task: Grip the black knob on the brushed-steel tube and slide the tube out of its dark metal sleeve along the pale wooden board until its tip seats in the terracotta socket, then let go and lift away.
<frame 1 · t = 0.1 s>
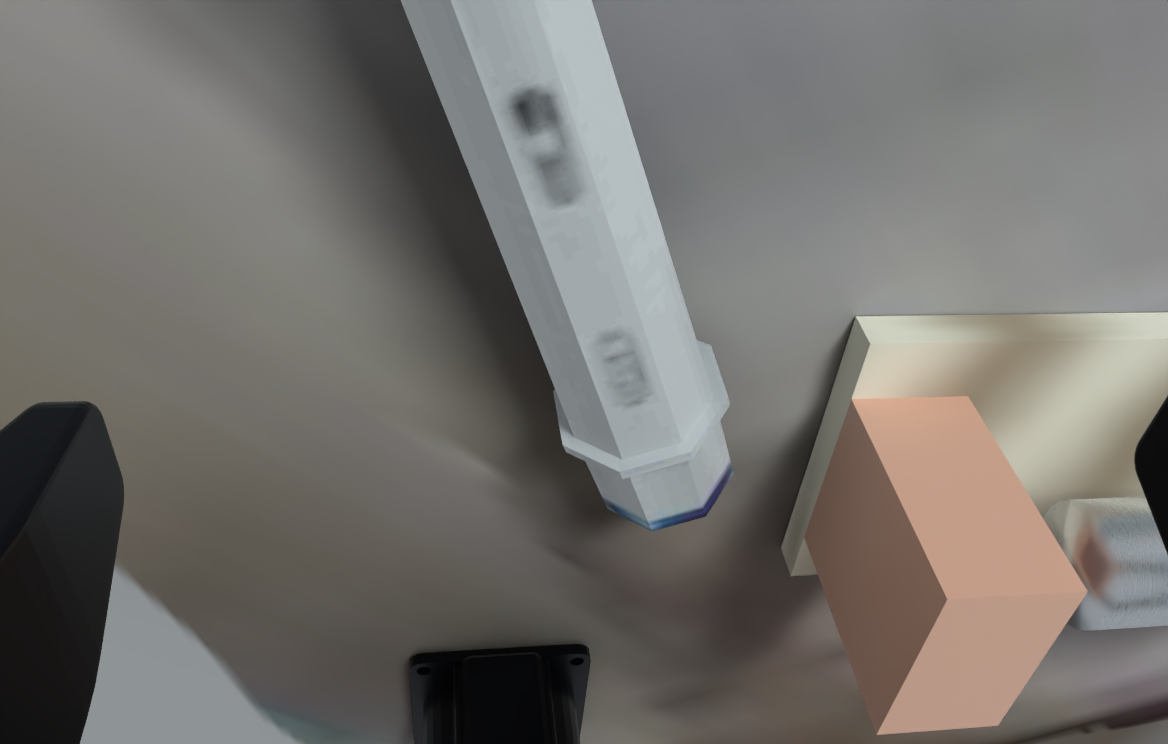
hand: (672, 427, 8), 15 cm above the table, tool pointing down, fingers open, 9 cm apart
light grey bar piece: (525, 39, 21), on the table
socket: (923, 560, 27), on the base board, point 5 cm above the table
base board: (1123, 434, 32), on the table
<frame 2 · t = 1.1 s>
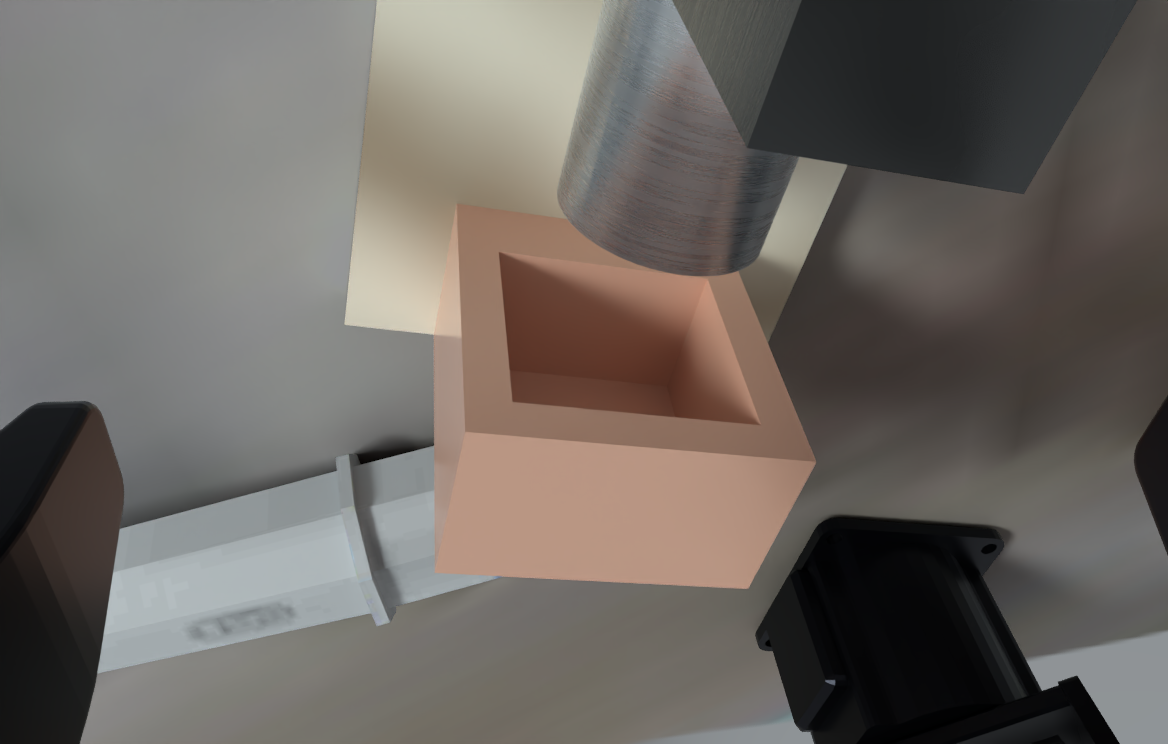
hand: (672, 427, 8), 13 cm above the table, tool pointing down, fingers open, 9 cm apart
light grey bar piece: (51, 518, 27), on the table
socket: (596, 388, 20), on the base board, point 5 cm above the table
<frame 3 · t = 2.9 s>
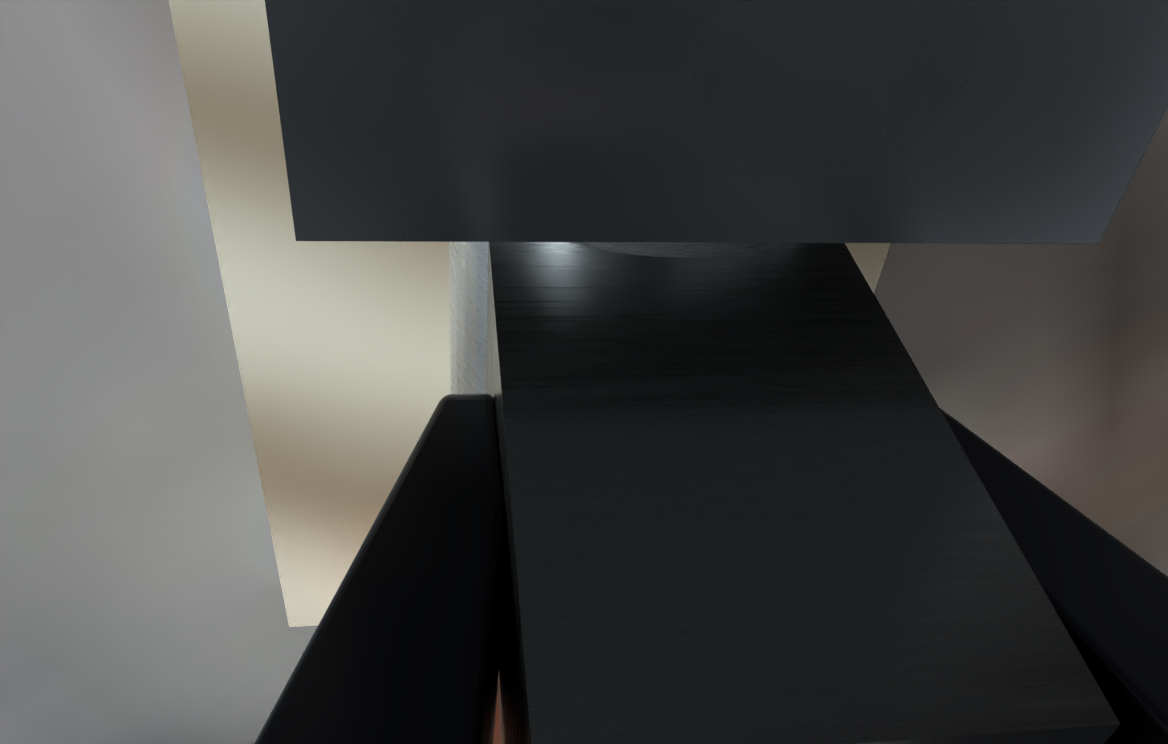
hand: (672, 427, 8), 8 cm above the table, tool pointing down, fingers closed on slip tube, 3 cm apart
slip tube: (706, 152, 7), point 7 cm above the table, slide at 0.0 cm, touching gripper
base board: (567, 120, 14), on the table
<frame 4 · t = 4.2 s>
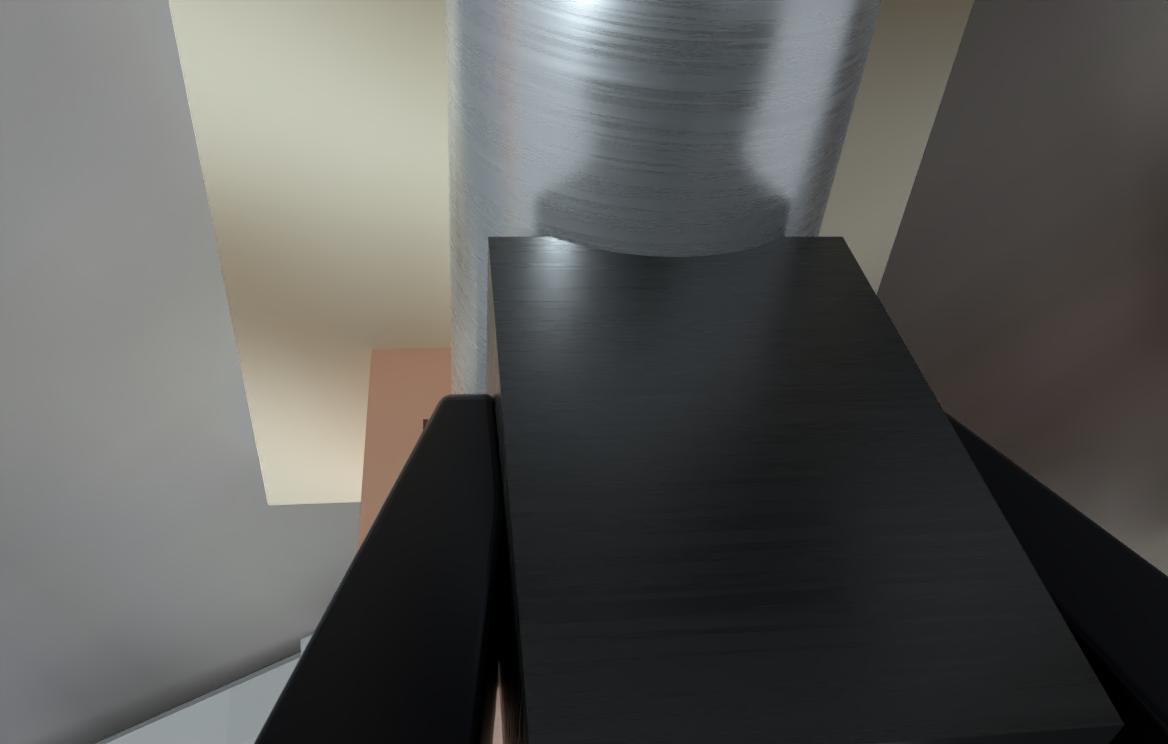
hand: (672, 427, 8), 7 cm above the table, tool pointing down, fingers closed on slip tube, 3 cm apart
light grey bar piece: (28, 728, 24), on the table
socket: (579, 587, 14), on the base board, point 5 cm above the table
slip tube: (706, 151, 7), point 7 cm above the table, slide at 3.7 cm, touching gripper
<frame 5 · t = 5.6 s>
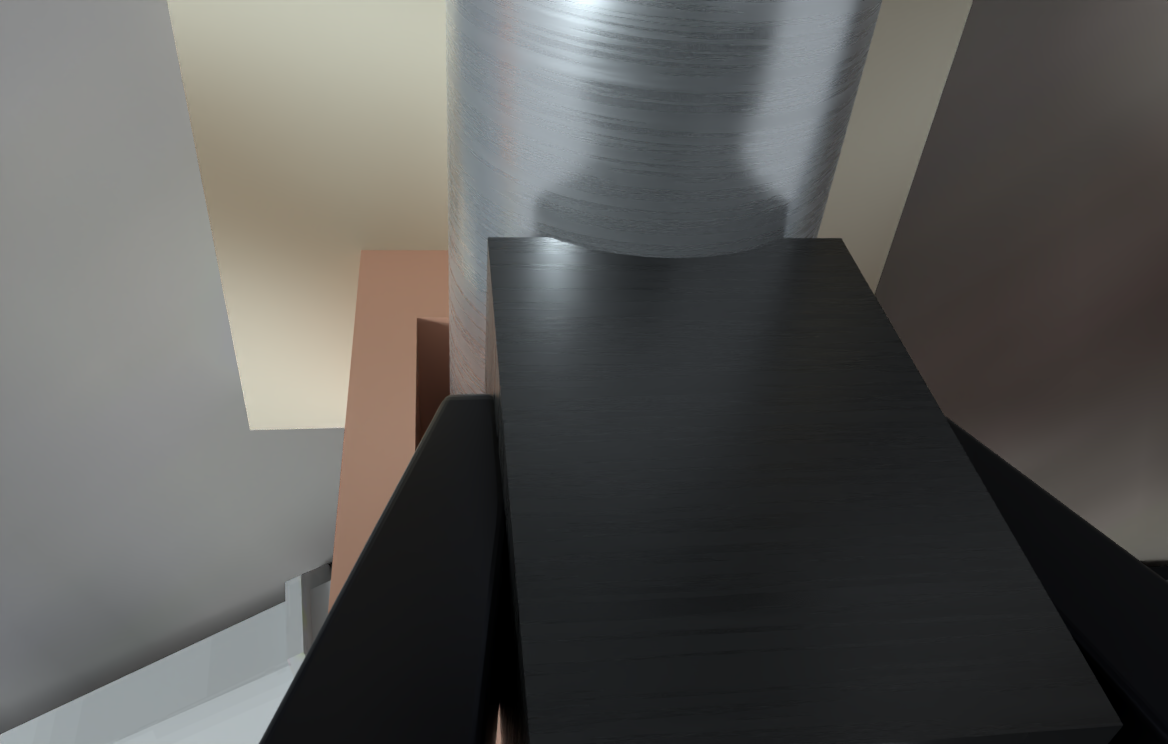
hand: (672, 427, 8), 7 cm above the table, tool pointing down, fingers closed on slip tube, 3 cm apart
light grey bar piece: (7, 689, 23), on the table
socket: (587, 503, 13), on the base board, point 5 cm above the table
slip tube: (705, 152, 7), point 7 cm above the table, slide at 5.6 cm, touching gripper
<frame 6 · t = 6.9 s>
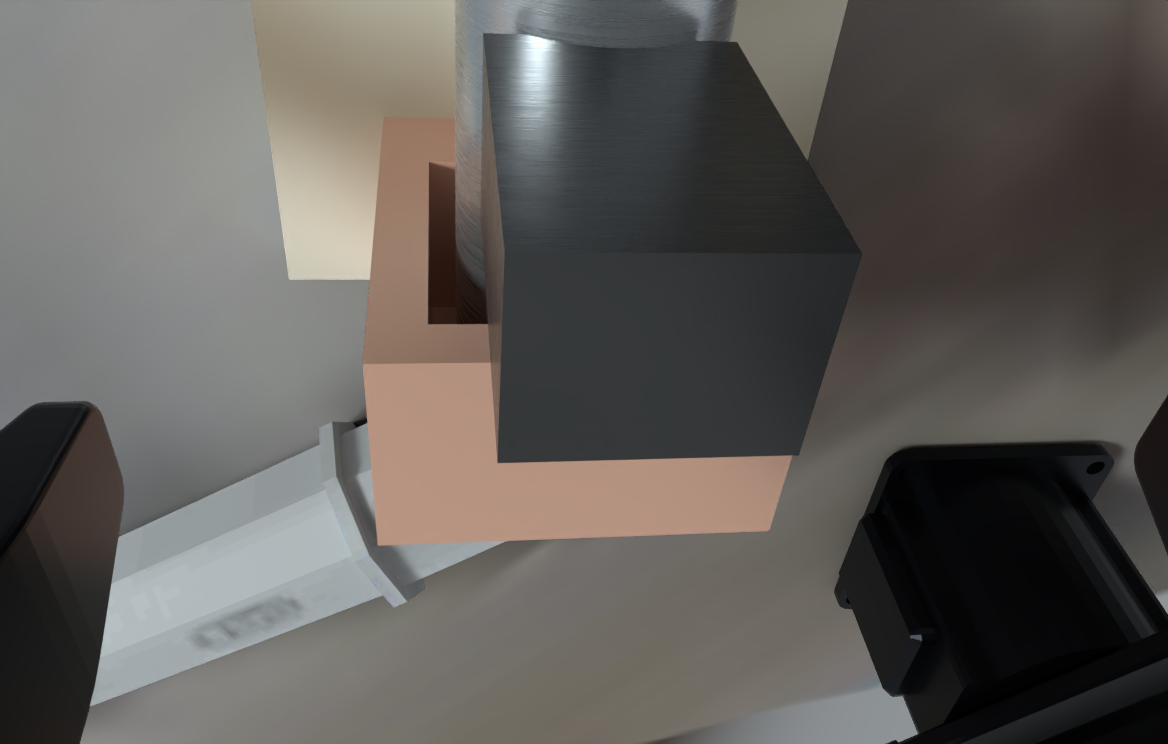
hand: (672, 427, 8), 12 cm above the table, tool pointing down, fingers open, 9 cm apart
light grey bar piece: (67, 541, 26), on the table
socket: (564, 311, 16), on the base board, point 5 cm above the table
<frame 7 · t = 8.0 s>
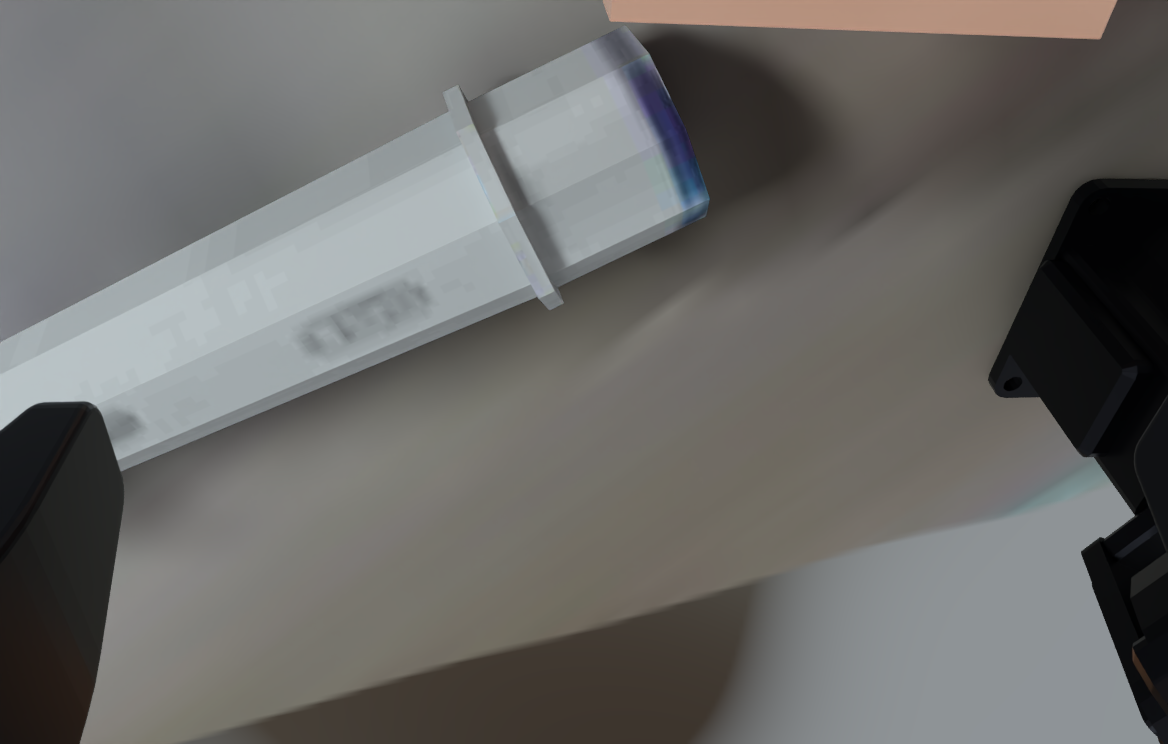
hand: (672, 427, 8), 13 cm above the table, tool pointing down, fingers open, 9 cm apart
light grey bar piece: (140, 287, 22), on the table
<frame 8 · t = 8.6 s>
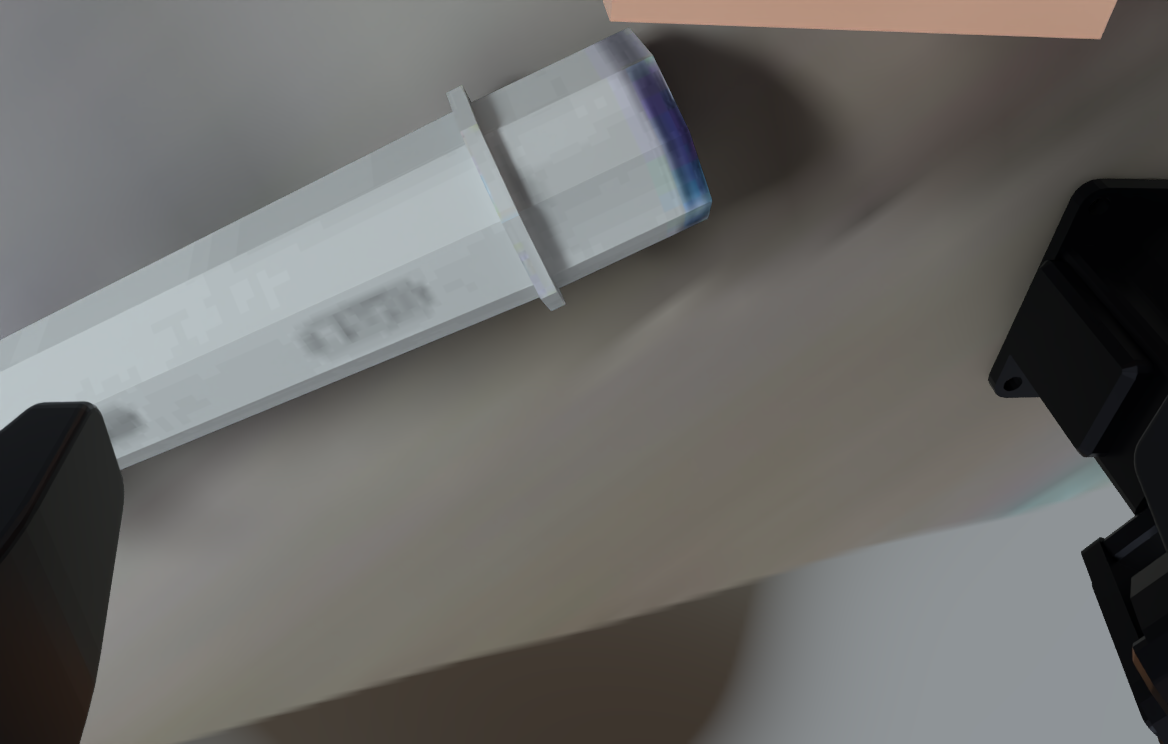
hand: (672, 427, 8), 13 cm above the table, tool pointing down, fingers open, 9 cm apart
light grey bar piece: (141, 286, 22), on the table
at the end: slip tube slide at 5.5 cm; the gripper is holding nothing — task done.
